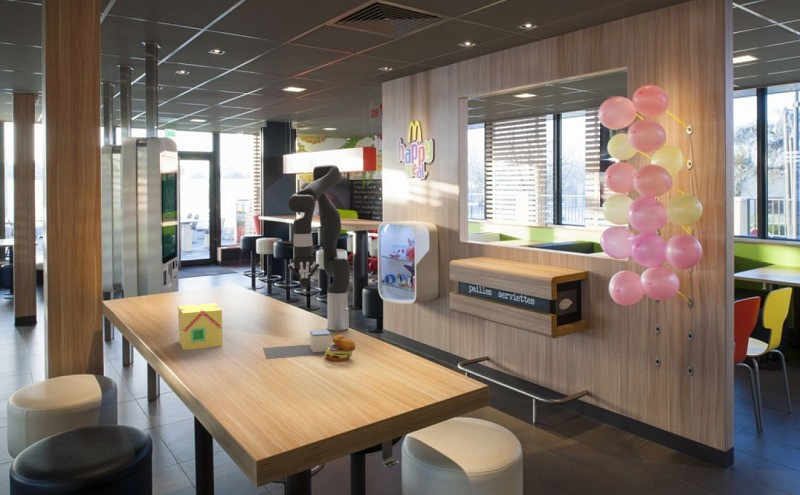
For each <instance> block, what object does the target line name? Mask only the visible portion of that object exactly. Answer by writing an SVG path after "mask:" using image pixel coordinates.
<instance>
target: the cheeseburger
mask: <svg viewBox="0 0 800 495" xmlns="http://www.w3.org/2000/svg"><path fill="white" fill-rule="evenodd" d="M331 342H332V343H333V344H332V343H331V344H332V345H331V346H329V347H328V348H327V351H326V354H325V355H324V358H325V359H326V360H330V361H335V362H344V361H348V360H349V359H351V357H352V355H353V351H355V350H356V344H355V341H354V340H353V339H348V338H347V337H345V335H343V334H337V335H335V336H334V337H333V338H332V339H331Z"/></svg>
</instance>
